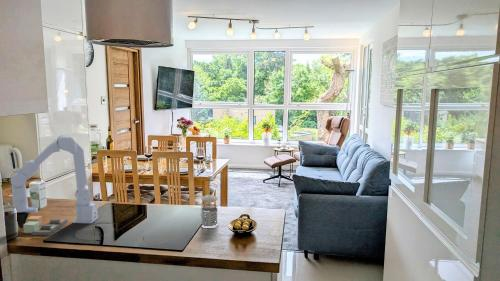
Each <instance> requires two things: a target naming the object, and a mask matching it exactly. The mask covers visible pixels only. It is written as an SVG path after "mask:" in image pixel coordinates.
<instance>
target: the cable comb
mask: <svg viewBox="0 0 500 281" xmlns="http://www.w3.org/2000/svg"><path fill="white" fill-rule="evenodd" d="M67 223H68V219H65V218H63V219H60V218H59V219H58V218H51V219H49V224H41V225H40V230H39V231H32V233H31V235H32V236H51V235H52V234H53V233H55V232H56V231H57V230H59V229H61V228H62V227H64V226H65V225H66V224H67ZM41 229H43V230H41Z"/></svg>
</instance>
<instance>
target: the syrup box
mask: <svg viewBox="0 0 500 281" xmlns="http://www.w3.org/2000/svg"><path fill="white" fill-rule="evenodd" d="M28 185H29V188H28V189H29V197H30V207H33V208H38V210H40V209H43V208H45V207H48V203H47V202H48V200H47V188H46V181H45V180H33V181H30V182H29V184H28Z"/></svg>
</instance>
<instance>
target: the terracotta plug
mask: <svg viewBox="0 0 500 281" xmlns="http://www.w3.org/2000/svg"><path fill="white" fill-rule="evenodd" d="M43 219H44V218H43V215H31V216H28V217H27V220H26V223H27V222H29V221H33V222H40V226H41V225H44V222H43Z"/></svg>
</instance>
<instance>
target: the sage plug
mask: <svg viewBox="0 0 500 281" xmlns="http://www.w3.org/2000/svg"><path fill="white" fill-rule="evenodd" d="M23 227H24V228H23V233H25V234H32V231H41V225H40V222H33V221H29V222H27V221H26V223H25V224H24V225H23Z"/></svg>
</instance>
